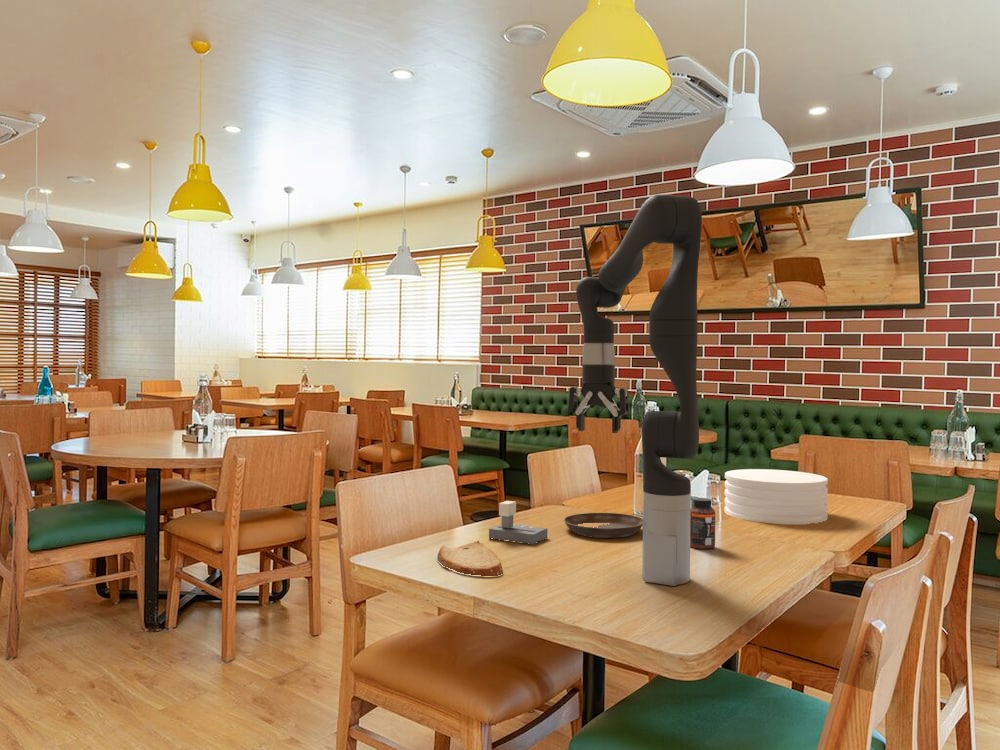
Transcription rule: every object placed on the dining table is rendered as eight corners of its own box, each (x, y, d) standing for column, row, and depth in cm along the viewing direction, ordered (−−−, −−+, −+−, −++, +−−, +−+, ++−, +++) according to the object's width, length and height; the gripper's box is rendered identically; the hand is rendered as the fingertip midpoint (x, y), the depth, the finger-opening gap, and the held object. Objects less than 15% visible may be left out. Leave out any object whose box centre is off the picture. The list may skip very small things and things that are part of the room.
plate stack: (717, 504, 222) (717, 468, 222) (810, 507, 218) (811, 470, 218) (734, 523, 195) (734, 481, 195) (841, 526, 191) (842, 484, 191)
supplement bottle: (716, 550, 163) (716, 501, 163) (689, 549, 164) (690, 500, 164) (713, 544, 169) (714, 497, 169) (688, 543, 170) (688, 496, 170)
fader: (508, 529, 171) (508, 504, 171) (498, 527, 173) (499, 503, 173) (515, 525, 175) (516, 501, 175) (506, 524, 176) (506, 500, 176)
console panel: (532, 545, 167) (532, 534, 167) (488, 538, 173) (489, 528, 173) (547, 538, 174) (547, 527, 174) (504, 532, 180) (504, 522, 180)
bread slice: (497, 581, 139) (497, 562, 139) (415, 572, 145) (415, 553, 145) (525, 559, 156) (525, 542, 156) (451, 551, 162) (451, 535, 162)
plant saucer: (547, 529, 185) (547, 517, 185) (603, 520, 197) (603, 508, 197) (603, 545, 168) (604, 531, 168) (661, 534, 181) (661, 521, 181)
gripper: (564, 362, 166) (563, 431, 166) (621, 363, 159) (621, 435, 159) (577, 362, 172) (576, 428, 173) (633, 362, 165) (632, 432, 166)
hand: (598, 431), depth 166 cm, fingers open, 8 cm apart
